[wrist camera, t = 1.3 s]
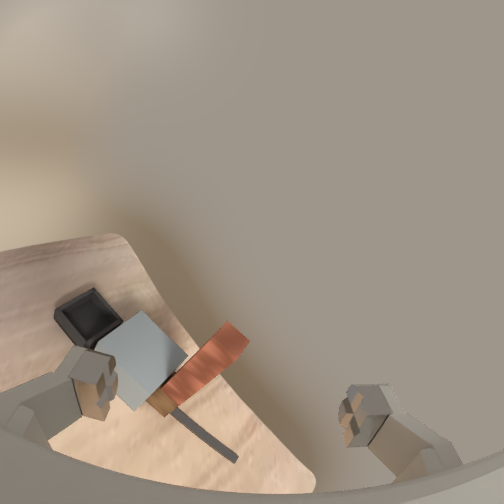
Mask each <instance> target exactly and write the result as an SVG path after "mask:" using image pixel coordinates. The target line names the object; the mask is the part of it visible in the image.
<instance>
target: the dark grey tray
mask: <svg viewBox="0 0 504 504" xmlns="http://www.w3.org/2000/svg"><path fill="white" fill-rule="evenodd" d="M54 319H55V321H56V322H57V323H58V324H59V326H60V327H61V328H62V330H63V331H64V332H65V333H66V335H67V336H68V337H69V338H70V339H71V341H72V342H73V343H74V344H75V345H77V346H80V347H83V348H86V349H92V348H93V347H94V346H96V345H97V343H98V341H100V340H101V339H102V338H104V337H105V336H107V335H108V334H109V333H111V332H112V331H113V330H115V329H116V328H118V327H119V326H120V325H121V324H122V322H123V320H122V319H121V318H120V316H119V315H118V314H117V313H116V312H115V311H114V310H113V309H112V308H111V307H110V305H109V304H108V303H107V302H106V301H105V300H104V299H103V298H102V296H101V295H100V294H99V293H98V292H97V291H96V289H95V288H92V289H90V290H88V291H87V292H85V293H83V294H81V295H79V296H78V297H76V298H74V299H72V300H70V301H69V302H67V303H65V304H63V305H62V306H60V307H58V308H56V309H55V314H54Z"/></svg>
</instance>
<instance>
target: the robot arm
mask: <svg viewBox="0 0 504 504" xmlns="http://www.w3.org/2000/svg"><path fill="white" fill-rule="evenodd" d="M115 366H116V360H115V357H114V356H113V355H109V354H105V353H102V352H98V351H95V350H91V349H86V348H83V347H80V346H77V345H75V346H73V347H72V348H71V350H70V351H69V353H68V354H67V355H66V357H65V358H64V360H63V361H62V363H61V364H60V365H59V367H58V368H57V370H56V371H55V373H53V372H50V373H47V374H45V375H43V376H40V377H38V378H36V379H33V380H31V381H28V382H26V383H24V384H21V385H19V386H17V387H14V388H12V389H9V390H7V391H4V392H2V393H0V504H504V449H503V450H501V451H499V452H496V453H494V454H491V455H489V456H486V457H484V458H481V459H478V460H476V461H473V462H470V463H467V464H464V465H463V463H462V461H461V460H460V458H459V456H458V454H457V452H456V450H455V448H454V446H453V445H452V443H451V442H450V441H448V440H447V439H445V438H444V437H442V436H441V435H439V434H438V433H436V432H435V431H433V430H432V429H431V428H429V427H428V426H426V425H425V424H423V423H422V422H420V421H419V420H417V419H416V418H414V417H413V416H412V415H410V414H409V413H404V411H403V409H402V407H401V405H400V403H399V401H398V399H397V397H396V395H395V393H394V391H393V389H392V387H391V386H390V385H389V384H376V385H375V384H368V385H351V386H350V387H349V388H348V390H347V392H346V393H347V396H348V397H347V398H346V399H344V400H343V401H342V403H341V405H340V407H339V413H338V416H339V422H340V425H341V426H342V427H344V428H345V431H344V433H343V436H344V439H345V443H346V446H347V447H366V446H368V448H369V449H370V450H371V452H372V453H374V454H375V456H377V458H379V460H380V461H382V463H383V464H384V465H386V467H387V468H388V469H389V470H391V472H393V474H395V476H397V478H396V479H395V480H394V481H393V482H392V483H391V484H386V485H381V486H375V487H368V488H361V489H354V490H345V491H335V492H324V493H305V494H254V493H236V492H224V491H214V490H205V489H197V488H190V487H184V486H177V485H172V484H166V483H161V482H156V481H151V480H147V479H142V478H138V477H134V476H130V475H126V474H122V473H119V472H115V471H112V470H108V469H105V468H101V467H98V466H95V465H92V464H89V463H86V462H83V461H80V460H77V459H75V458H72V457H69V456H66V455H64V454H61V453H59V452H56V451H54V450H52V448H51V446H50V444H49V442H48V440H49V439H50V438H52V437H53V436H55V435H56V434H58V433H59V432H61V431H62V430H64V429H65V428H67V427H68V426H69V425H71V424H72V423H74V422H75V421H77V420H78V419H79V418H81V417H82V415H83V416H86V417H90V418H93V419H97V420H101V421H105V419H106V416H107V414H108V412H109V409H110V405H109V401H111V400H113V399H114V398H115V395H116V392H117V388H118V374H117V373H116V372H115V370H114V368H115Z"/></svg>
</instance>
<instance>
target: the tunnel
mask: <svg viewBox="0 0 504 504" xmlns="http://www.w3.org/2000/svg"><path fill="white" fill-rule="evenodd" d="M94 350H95V351H98V352H102V353H105V354H109V355H113V356H114V357H115V360H116V366H115V368H114V370H115V372H116V373H117V374H118V388H117V392H116V394H117V395H118V396H119V397H120V398H121V399H122V400H123V401H124V402H125V403H126V404H127V405H128V406H129V407H130V408H131V409H132V410H133V411H135V410H136V409H137V408H138V407H139V406H140V405H141V404H142V403H143V402H144V401H145V400H146V399H147V398H148V397H149V396H150V395H151V394H152V393H153V392H154V391H155V390H156V389H157V388H158V387H159V386H160V385H161V384H162V383H163V382H164V381H165V380H166V379H167V378H168V377H169V376H170V374H171V373H172V372H173V371H174V370H175V369H176V368H177V367H178V366H179V365H180V364H181V363H182V362H183V361H184V360H185V359H186V358H187V356H188V355H187V354H186V353H185V352H184V351H183V350H182V349H181V348H180V347H179V346H178V345H177V344H176V343H175V342H174V341H172V340H171V339H170V338H169V337H168V336H167V335H166V334H165V333H164V332H163V331H162V330H161V329H160V328H159V327H158V326H157V325H156V324H155V323H154V322H153V321H152V320H151V319H150V318H149V317H148V316H147V315H146V314H145V313H144V312H143V311H142V310H141V311H140V312H138V313H137V314H136V315H134V316H133V317H131V318H130V319H129V320H127V321H126V322H125V323H123V324H122V325H120V326H119V327H118V328H116V329H115V330H113V331H112V332H111V333H109V334H108V335H107V336H105V337H104V338H102V339H101V340H100V341H98V343H97V345H96V347H95V349H94Z"/></svg>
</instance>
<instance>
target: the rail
mask: <svg viewBox="0 0 504 504" xmlns="http://www.w3.org/2000/svg"><path fill="white" fill-rule="evenodd" d="M170 414H171V415H172V416H173V417H174V418H176V419H177V420H178V421H179V422H180V423H182V424H183V425H184V426H185V427H186V428H188V429H189V430H190V431H191V432H192V433H194V434H195V435H196V436H198V437H199V438H200V439H201V440H203V441H204V442H205V443H206V444H208V445H209V446H210V447H212V448H213V449H214V450H216V451H217V452H218V453H220V454H221V455H223V456H224V457H225V458H227V459H228V460H229V461H231V462H232V463H235V462H236V461H237V459H238V457H239V456H238V455H236V454H235V453H233V452H232V451H231V450H229V449H228V448H227V447H225V446H224V445H223V444H221V443H220V442H219V441H217V440H216V439H215V438H213V437H212V436H211V435H210V434H208V433H207V432H206V431H205V430H203V429H202V428H201V427H200V426H198V425H197V424H196V423H195V422H193V421H192V420H191V419H190V418H189V417H187V416H186V415H185V414H184V413H183V412H182V411H180V410H179V409H178V408H176V409H174V410H173V411H172V412H170Z"/></svg>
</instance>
